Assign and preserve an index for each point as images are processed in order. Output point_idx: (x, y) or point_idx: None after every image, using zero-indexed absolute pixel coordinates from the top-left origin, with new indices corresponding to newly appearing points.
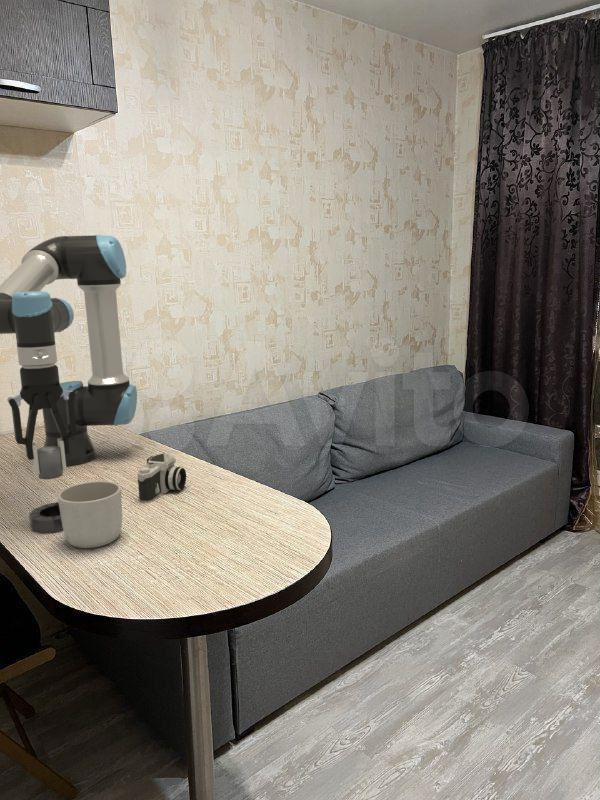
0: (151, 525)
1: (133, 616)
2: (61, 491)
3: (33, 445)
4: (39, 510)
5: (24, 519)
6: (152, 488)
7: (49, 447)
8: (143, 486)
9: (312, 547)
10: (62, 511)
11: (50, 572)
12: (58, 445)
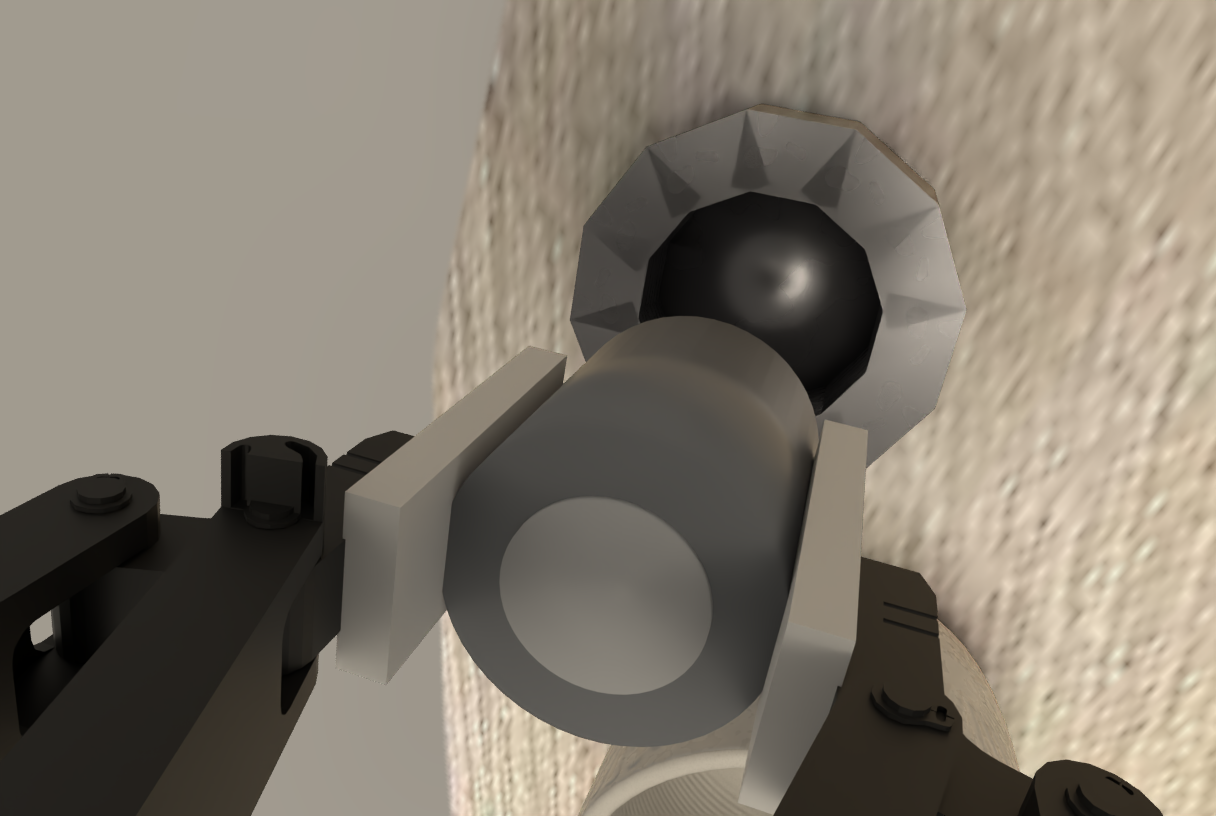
0: (1206, 799)
1: None
2: (621, 798)
3: (348, 656)
4: (668, 211)
5: (626, 24)
6: None
7: (646, 556)
8: None
9: None
10: None
11: (511, 793)
12: (788, 598)
